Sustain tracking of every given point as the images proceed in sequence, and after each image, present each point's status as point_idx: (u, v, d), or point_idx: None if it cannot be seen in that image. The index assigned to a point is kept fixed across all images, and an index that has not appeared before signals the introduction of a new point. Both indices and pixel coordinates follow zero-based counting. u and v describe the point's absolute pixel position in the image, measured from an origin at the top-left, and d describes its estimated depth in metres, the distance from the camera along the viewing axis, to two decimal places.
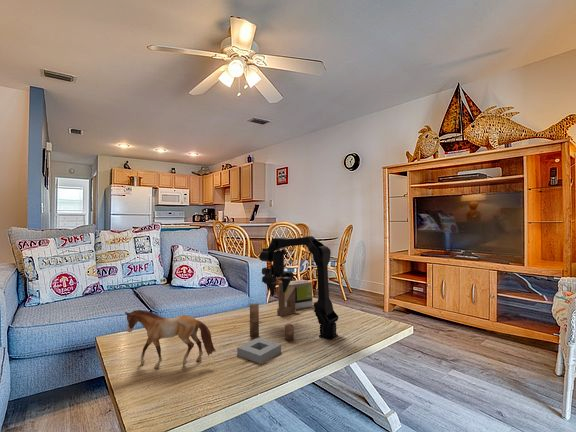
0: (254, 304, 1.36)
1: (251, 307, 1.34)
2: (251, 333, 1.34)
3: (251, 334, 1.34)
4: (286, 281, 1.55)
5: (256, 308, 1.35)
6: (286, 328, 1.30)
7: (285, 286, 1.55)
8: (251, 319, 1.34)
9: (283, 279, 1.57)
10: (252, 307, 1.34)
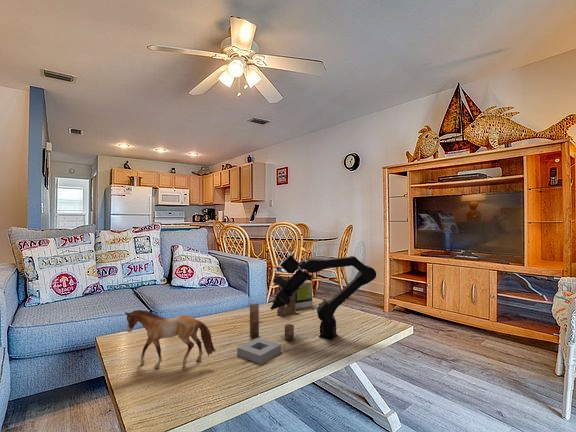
0: (254, 304, 1.36)
1: (251, 307, 1.34)
2: (251, 333, 1.34)
3: (251, 334, 1.34)
4: None
5: (256, 308, 1.35)
6: (286, 328, 1.30)
7: None
8: (251, 319, 1.34)
9: None
10: (252, 307, 1.34)
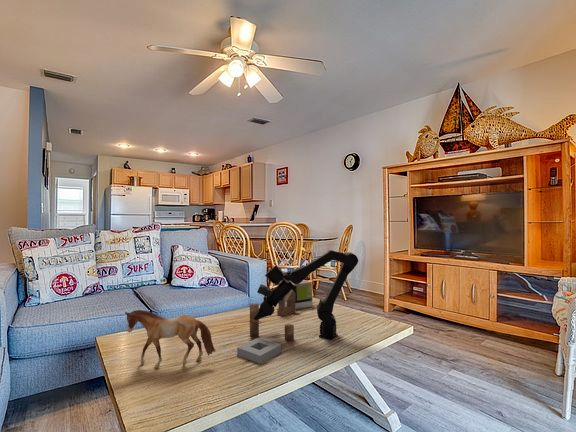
0: (254, 304, 1.36)
1: (251, 307, 1.34)
2: (251, 333, 1.34)
3: (251, 334, 1.34)
4: None
5: (256, 308, 1.35)
6: (286, 328, 1.30)
7: None
8: (251, 319, 1.34)
9: None
10: (252, 307, 1.34)
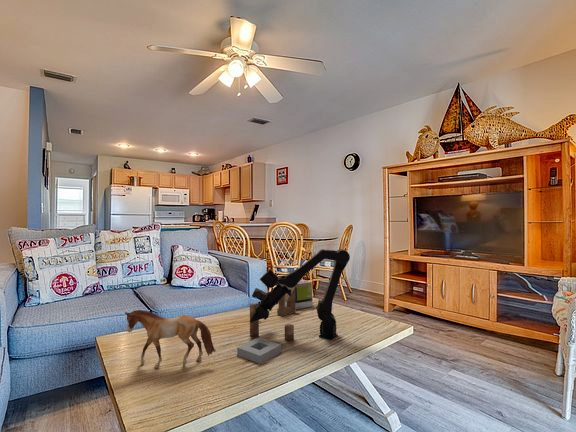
0: (254, 304, 1.36)
1: (251, 307, 1.34)
2: (251, 333, 1.34)
3: (251, 334, 1.34)
4: None
5: None
6: (286, 328, 1.30)
7: None
8: None
9: None
10: (252, 307, 1.34)
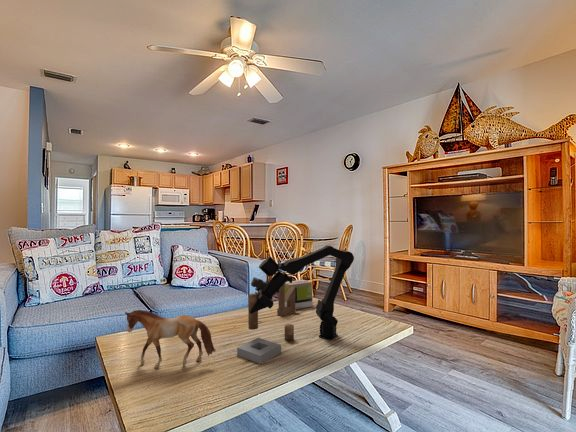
0: (253, 294, 1.28)
1: (251, 297, 1.26)
2: (251, 325, 1.26)
3: (251, 326, 1.26)
4: None
5: (256, 298, 1.27)
6: (286, 328, 1.30)
7: None
8: None
9: (258, 297, 1.31)
10: (252, 297, 1.26)
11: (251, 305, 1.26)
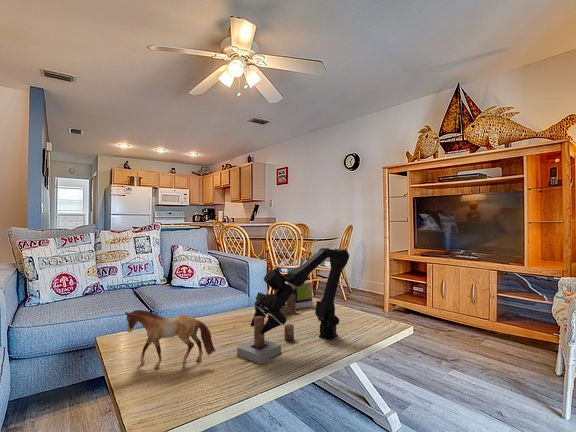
0: (259, 317, 1.18)
1: (258, 321, 1.16)
2: None
3: None
4: None
5: (263, 321, 1.17)
6: (286, 328, 1.30)
7: None
8: (258, 335, 1.16)
9: (259, 311, 1.24)
10: (260, 321, 1.16)
11: (259, 329, 1.16)
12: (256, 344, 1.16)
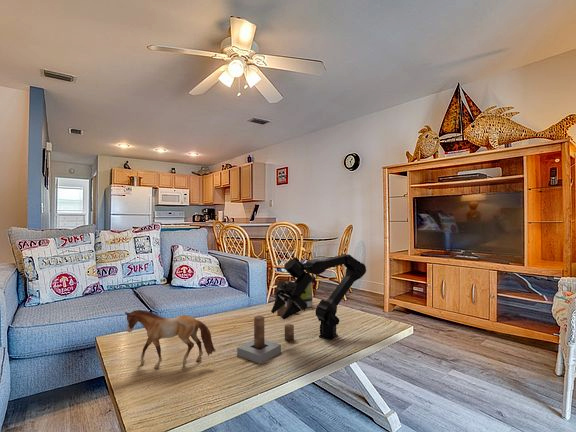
0: (259, 317, 1.18)
1: (258, 321, 1.16)
2: None
3: None
4: (281, 303, 1.29)
5: (263, 321, 1.17)
6: (286, 328, 1.30)
7: (278, 307, 1.27)
8: (258, 335, 1.16)
9: (279, 298, 1.28)
10: (260, 321, 1.16)
11: (259, 329, 1.16)
12: (256, 344, 1.16)
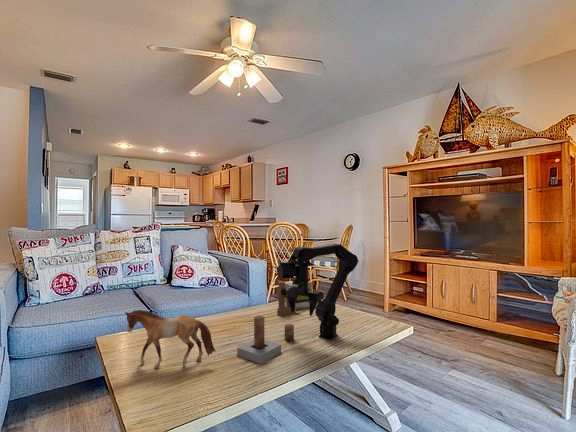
0: (259, 317, 1.18)
1: (258, 321, 1.16)
2: None
3: None
4: (293, 297, 1.33)
5: (263, 321, 1.17)
6: (286, 328, 1.30)
7: (294, 304, 1.32)
8: (258, 335, 1.16)
9: (290, 297, 1.32)
10: (260, 321, 1.16)
11: (259, 329, 1.16)
12: (256, 344, 1.16)
